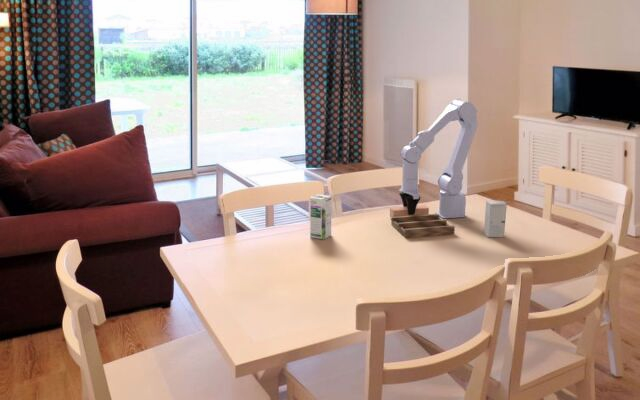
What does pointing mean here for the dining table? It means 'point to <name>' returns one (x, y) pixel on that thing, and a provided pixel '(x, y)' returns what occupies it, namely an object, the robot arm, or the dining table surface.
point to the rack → (422, 226)
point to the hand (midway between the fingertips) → (409, 212)
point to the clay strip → (404, 211)
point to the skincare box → (495, 218)
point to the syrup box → (320, 216)
